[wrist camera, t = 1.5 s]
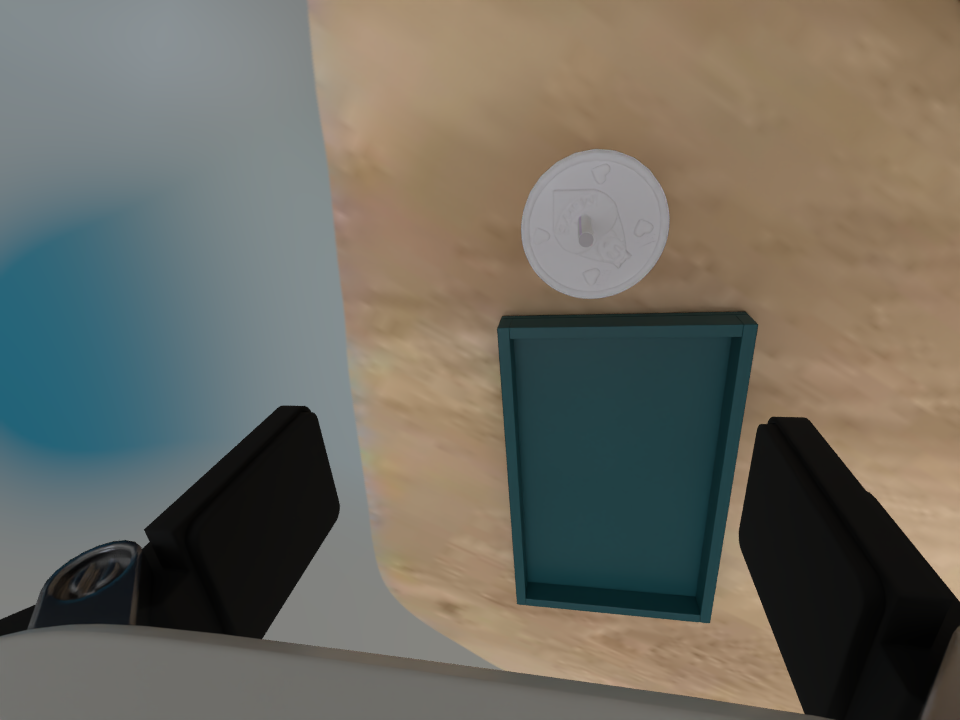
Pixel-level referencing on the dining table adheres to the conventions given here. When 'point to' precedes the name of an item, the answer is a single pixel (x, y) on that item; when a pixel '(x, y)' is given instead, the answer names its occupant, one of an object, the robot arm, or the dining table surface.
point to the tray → (622, 456)
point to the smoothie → (595, 224)
